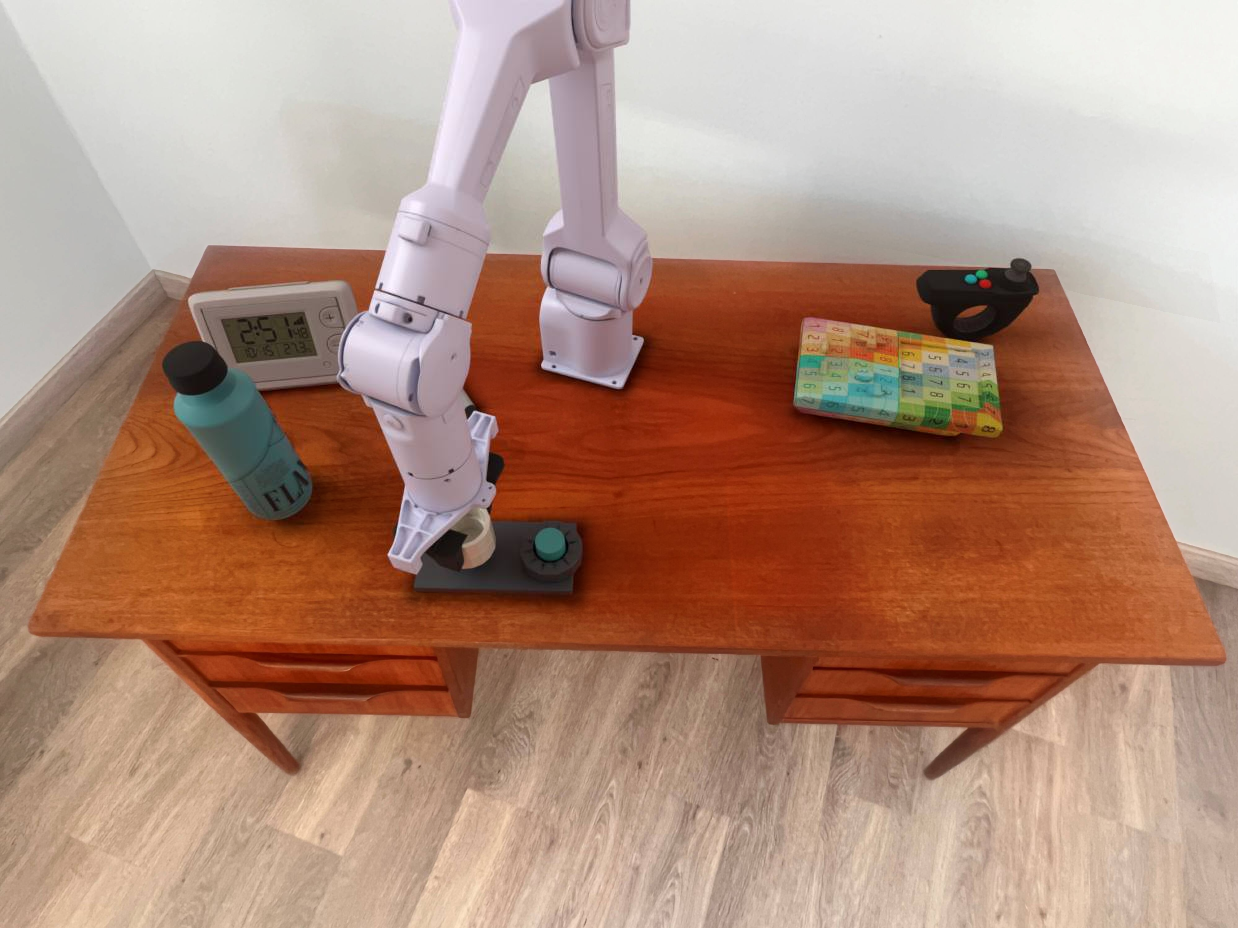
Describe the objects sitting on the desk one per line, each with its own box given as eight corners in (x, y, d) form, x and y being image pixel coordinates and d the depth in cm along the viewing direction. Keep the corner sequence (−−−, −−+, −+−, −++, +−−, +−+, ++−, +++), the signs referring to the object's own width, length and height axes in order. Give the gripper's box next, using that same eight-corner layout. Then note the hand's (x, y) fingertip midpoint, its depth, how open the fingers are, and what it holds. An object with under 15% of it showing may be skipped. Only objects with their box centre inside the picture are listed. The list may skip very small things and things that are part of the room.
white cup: (432, 562, 65) (422, 538, 62) (457, 518, 68) (448, 493, 64) (482, 578, 64) (474, 555, 61) (505, 533, 67) (499, 508, 64)
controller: (1012, 347, 83) (1055, 278, 75) (902, 345, 84) (933, 276, 75) (1002, 321, 86) (1042, 251, 78) (895, 319, 86) (924, 249, 78)
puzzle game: (805, 311, 80) (996, 339, 78) (796, 342, 84) (979, 369, 81) (797, 391, 73) (1007, 424, 71) (788, 421, 77) (987, 453, 75)
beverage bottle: (285, 542, 69) (181, 403, 52) (235, 510, 71) (121, 367, 55) (335, 492, 72) (252, 347, 56) (287, 463, 74) (193, 314, 58)
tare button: (535, 561, 65) (533, 552, 64) (537, 535, 67) (536, 527, 66) (564, 561, 65) (563, 553, 64) (566, 536, 67) (565, 527, 65)
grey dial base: (415, 592, 66) (409, 579, 64) (429, 524, 70) (423, 510, 68) (580, 595, 66) (579, 583, 64) (584, 527, 70) (583, 513, 68)
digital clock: (216, 397, 79) (167, 324, 70) (246, 337, 84) (204, 262, 76) (365, 404, 78) (334, 332, 70) (386, 343, 84) (360, 269, 75)
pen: (471, 425, 77) (469, 417, 76) (410, 330, 85) (407, 321, 84) (483, 420, 77) (481, 412, 76) (421, 326, 85) (418, 317, 84)
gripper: (436, 545, 49) (469, 627, 60) (523, 390, 57) (538, 487, 68) (343, 515, 51) (393, 600, 62) (441, 368, 59) (469, 467, 70)
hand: (464, 539), depth 65 cm, fingers closed on white cup, 5 cm apart
